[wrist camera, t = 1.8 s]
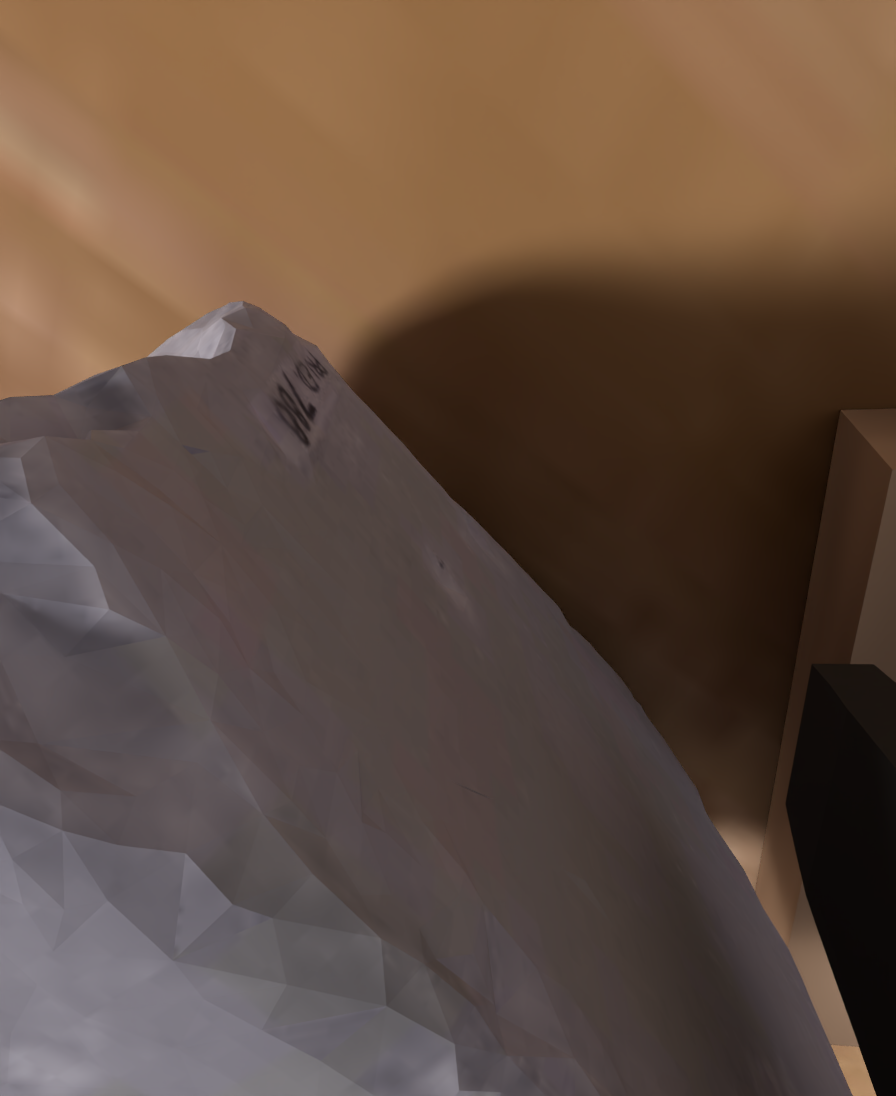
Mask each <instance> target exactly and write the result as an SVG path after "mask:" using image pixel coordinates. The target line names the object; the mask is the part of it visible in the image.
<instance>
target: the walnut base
mask: <svg viewBox="0 0 896 1096" xmlns="http://www.w3.org/2000/svg"><path fill="white" fill-rule="evenodd" d="M812 664H874V665H875V666H876V667H878V668H879V669H880V670H881V671H882V672H884V673H885V674H886V675H887V676H889V677H890V678H891V679H892V680H893V681H894V682H896V408H895V409H860V410H840V415H839V421H838V427H837V432H836V438H835V443H834V449H833V455H832V460H831V466H830V472H829V477H828V483H827V489H826V494H825V500H824V506H823V511H822V517H821V523H820V528H819V534H818V539H817V545H816V551H815V556H814V562H813V568H812V573H811V579H810V585H809V590H808V596H807V602H806V607H805V613H804V619H803V624H802V630H801V635H800V641H799V647H798V652H797V658H796V664H795V669H794V675H793V681H792V686H791V692H790V698H789V703H788V709H787V715H786V720H785V726H784V732H783V737H782V743H781V748H780V754H779V760H778V765H777V771H776V777H775V782H774V788H773V794H772V799H771V805H770V811H769V816H768V822H767V828H766V833H765V839H764V844H763V850H762V856H761V861H760V867H759V873H758V878H757V884H756V890H755V893H756V895H757V897H758V899H759V901H760V903H761V905H762V907H763V909H764V910H765V912H766V913H767V915H768V917H769V918H770V920H771V921H772V923H773V925H774V926H775V928H776V929H777V931H778V933H779V934H780V936H781V938H782V939H783V941H784V942H785V944H786V946H787V947H788V949H789V951H790V953H791V955H792V958H793V960H794V962H795V964H796V966H797V968H798V971H799V973H800V975H801V977H802V979H803V982H804V984H805V987H806V989H807V992H808V994H809V996H810V999H811V1001H812V1004H813V1006H814V1008H815V1010H816V1013H817V1015H818V1017H819V1020H820V1022H821V1024H822V1026H823V1029H824V1031H825V1033H826V1036H827V1038H828V1040H829V1043H830V1045H840V1046H855V1047H859V1045H858V1042H857V1039H856V1037H855V1034H854V1031H853V1028H852V1025H851V1023H850V1020H849V1017H848V1014H847V1011H846V1009H845V1006H844V1003H843V1000H842V997H841V995H840V992H839V989H838V986H837V983H836V981H835V978H834V975H833V972H832V969H831V967H830V964H829V961H828V958H827V955H826V952H825V949H824V947H823V944H822V941H821V938H820V935H819V932H818V930H817V927H816V924H815V921H814V918H813V915H812V912H811V909H810V906H809V903H808V900H807V897H806V894H805V890H804V886H803V881H802V877H801V873H800V869H799V864H798V860H797V856H796V852H795V847H794V842H793V838H792V833H791V828H790V823H789V819H788V814H787V809H786V805H785V802H786V797H787V792H788V787H789V781H790V776H791V771H792V765H793V760H794V755H795V750H796V744H797V739H798V734H799V728H800V723H801V718H802V712H803V707H804V702H805V697H806V691H807V686H808V681H809V675H810V670H811V665H812Z"/></svg>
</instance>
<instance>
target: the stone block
mask: <svg viewBox="0 0 896 1096" xmlns="http://www.w3.org/2000/svg"><path fill="white" fill-rule="evenodd" d="M0 1096H852V1093H851V1091H850V1089H849V1087H848V1084H847V1082H846V1080H845V1077H844V1075H843V1073H842V1070H841V1068H840V1066H839V1063H838V1061H837V1059H836V1056H835V1054H834V1052H833V1049H832V1047H831V1045H830V1043H829V1040H828V1038H827V1036H826V1033H825V1031H824V1029H823V1026H822V1024H821V1022H820V1020H819V1017H818V1015H817V1013H816V1010H815V1008H814V1006H813V1004H812V1001H811V999H810V996H809V994H808V992H807V989H806V987H805V984H804V982H803V979H802V977H801V975H800V973H799V971H798V968H797V966H796V964H795V962H794V960H793V958H792V955H791V953H790V951H789V949H788V947H787V946H786V944H785V942H784V941H783V939H782V938H781V936H780V934H779V933H778V931H777V929H776V928H775V926H774V925H773V923H772V921H771V920H770V918H769V917H768V915H767V913H766V912H765V910H764V909H763V907H762V905H761V903H760V901H759V899H758V897H757V895H756V893H755V891H754V889H753V887H752V885H751V883H750V881H749V879H748V877H747V875H746V873H745V871H744V869H743V868H742V866H741V865H740V863H739V862H738V860H737V859H736V857H735V856H734V855H733V853H732V852H731V850H730V849H729V847H728V846H727V844H726V843H725V841H724V840H723V838H722V837H721V835H720V834H719V832H718V831H717V829H716V828H715V826H714V825H713V823H712V822H711V820H710V818H709V817H708V815H707V813H706V811H705V809H704V806H703V803H702V800H701V798H700V795H699V792H698V790H697V788H696V787H695V785H694V784H693V782H692V781H691V779H690V778H689V776H688V775H687V773H686V772H685V770H684V769H683V767H682V766H681V764H680V763H679V761H678V760H677V758H676V757H675V755H674V753H673V752H672V750H671V749H670V747H669V746H668V744H667V743H666V741H665V740H664V738H663V737H662V736H661V734H660V733H659V732H658V730H657V729H656V728H655V726H654V725H653V724H652V722H651V721H650V720H649V718H648V717H647V716H646V714H645V712H644V710H643V708H642V707H641V705H640V704H639V703H638V702H637V701H636V700H635V699H634V698H633V695H632V693H631V691H630V690H629V689H628V687H627V686H626V685H625V683H624V682H623V681H622V679H621V678H620V677H619V676H618V675H617V673H616V672H615V671H614V670H613V669H612V668H611V667H610V666H609V665H608V663H607V662H606V661H605V660H604V659H603V658H602V657H601V656H600V655H599V654H598V653H597V651H596V650H595V649H594V648H593V647H592V645H591V644H590V643H589V642H588V641H586V640H585V639H584V638H583V637H582V636H581V635H580V634H579V633H578V632H577V631H576V630H575V629H573V628H572V627H571V626H569V624H568V622H567V621H566V619H565V617H564V615H563V614H562V612H561V610H560V609H559V607H558V605H557V604H556V603H555V602H554V601H553V600H552V599H551V598H550V597H549V596H548V595H547V594H546V593H545V592H544V591H543V590H542V589H541V588H540V587H539V586H538V585H537V584H536V583H535V582H534V580H533V579H532V578H531V577H530V576H529V575H528V574H527V573H526V572H525V571H524V570H523V569H522V568H521V567H520V566H519V565H518V564H517V563H516V561H515V560H514V559H513V558H512V557H511V556H510V555H509V554H508V553H507V552H506V551H505V550H504V549H503V548H502V547H501V546H500V545H499V544H498V543H497V542H496V541H495V540H494V539H493V538H492V537H491V536H490V535H489V534H488V533H487V532H486V531H485V530H484V529H483V528H482V526H481V525H480V524H479V523H478V522H477V521H476V520H475V519H474V518H473V517H472V516H471V515H470V514H468V513H467V512H466V511H465V510H464V509H463V508H462V507H461V506H460V505H459V504H457V503H456V502H455V501H454V500H453V499H451V498H450V496H449V495H448V494H447V493H446V491H445V490H444V489H443V488H442V487H441V486H440V484H439V483H438V482H437V481H436V480H435V479H434V478H433V477H432V476H431V475H430V474H429V473H428V472H427V470H426V469H425V468H424V467H423V466H422V465H421V464H420V463H419V462H418V461H417V459H416V458H415V457H414V456H413V455H412V453H411V452H410V451H409V450H408V449H407V447H406V446H405V445H404V444H403V443H402V442H401V441H400V440H399V439H398V438H397V437H396V436H395V435H394V433H393V432H392V431H391V430H390V429H389V428H388V427H387V426H386V425H385V424H384V423H383V422H382V421H381V420H380V419H379V418H378V417H377V415H376V414H375V413H374V412H373V411H372V410H371V409H370V408H369V407H368V406H367V405H366V404H365V403H364V402H363V401H362V400H361V399H360V398H359V397H358V396H357V395H356V394H355V393H354V392H353V391H352V389H351V388H350V387H349V386H348V385H347V383H346V382H345V381H344V380H343V379H342V377H341V376H340V375H339V374H338V373H337V371H336V370H335V369H334V368H333V367H332V365H331V364H330V363H329V362H328V360H327V359H326V358H325V356H324V355H323V354H322V352H321V351H320V350H319V348H318V347H317V346H316V345H314V344H312V343H310V342H308V341H306V340H304V339H302V338H300V337H298V336H297V335H295V334H293V333H292V332H291V331H290V330H289V328H288V327H287V326H286V325H285V324H283V323H282V322H280V321H279V320H277V319H276V318H274V317H273V316H271V315H270V314H268V313H267V312H265V311H264V310H262V309H261V308H259V307H257V306H254V305H252V304H249V303H246V302H244V301H241V302H232V303H228V304H227V305H226V306H223V307H221V308H219V309H216V310H214V311H212V312H209V313H207V314H206V315H204V316H203V317H201V318H200V319H198V320H197V321H195V322H194V323H192V324H190V325H189V326H187V327H186V328H184V329H183V330H181V331H180V332H178V333H177V334H175V335H174V336H172V337H170V338H169V339H168V340H166V341H165V342H164V343H163V344H162V345H160V346H159V347H158V348H157V349H156V350H155V351H153V352H152V353H151V354H150V355H149V356H148V357H146V358H143V359H140V360H137V361H134V362H131V363H128V364H125V365H123V366H120V367H117V368H114V369H111V370H108V371H105V372H103V373H100V374H97V375H94V376H92V377H90V378H88V379H86V380H84V381H82V382H79V383H77V384H75V385H73V386H71V387H69V388H67V389H65V390H63V391H61V392H59V393H57V394H55V395H47V396H25V397H9V398H6V399H3V400H0Z"/></svg>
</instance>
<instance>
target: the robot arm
mask: <svg viewBox="0 0 896 1096" xmlns="http://www.w3.org/2000/svg"><path fill="white" fill-rule="evenodd" d="M785 805H786V809H787V814H788V819H789V823H790V828H791V833H792V838H793V842H794V847H795V852H796V856H797V860H798V864H799V869H800V873H801V877H802V881H803V886H804V890H805V894H806V897H807V900H808V903H809V906H810V909H811V912H812V915H813V918H814V921H815V924H816V927H817V930H818V932H819V935H820V938H821V941H822V944H823V947H824V949H825V952H826V955H827V958H828V961H829V964H830V967H831V969H832V972H833V975H834V978H835V981H836V983H837V986H838V989H839V992H840V995H841V997H842V1000H843V1003H844V1006H845V1009H846V1011H847V1014H848V1017H849V1020H850V1023H851V1025H852V1028H853V1031H854V1034H855V1037H856V1039H857V1042H858V1045H859V1048H860V1051H861V1053H862V1056H863V1059H864V1062H865V1065H866V1067H867V1070H868V1073H869V1076H870V1078H871V1081H872V1084H873V1087H874V1090H875V1092H876V1095H877V1096H896V682H894V681H893V680H892V679H891V678H890V677H889V676H887V675H886V674H885V673H884V672H882V671H881V670H880V669H879V668H878V667H876V666H875V665H874V664H812V665H811V670H810V675H809V681H808V686H807V691H806V697H805V702H804V707H803V712H802V718H801V723H800V728H799V734H798V739H797V744H796V750H795V755H794V760H793V765H792V771H791V776H790V781H789V787H788V792H787V797H786V802H785Z"/></svg>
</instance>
